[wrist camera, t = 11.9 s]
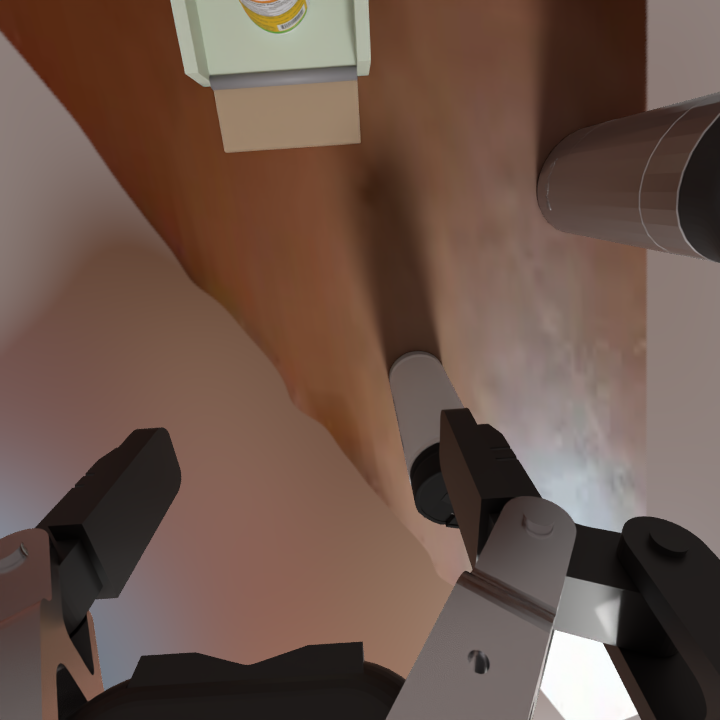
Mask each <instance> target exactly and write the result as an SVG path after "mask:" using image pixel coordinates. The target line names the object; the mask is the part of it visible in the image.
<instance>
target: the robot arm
mask: <svg viewBox="0 0 720 720" xmlns="http://www.w3.org/2000/svg"><path fill="white" fill-rule="evenodd" d="M537 197H538V203H539V207H540V209H541V212H542V214H543V216H544V217H545V219H546V220H547V221H548V222H549V223H550V224H551V225H552V226H553V227H555V228H556V229H558V230H561V231H563V232H567V233H572V234H577V235H582V236H586V237H591V238H596V239H601V240H606V241H611V242H616V243H621V244H626V245H631V246H636V247H641V248H646V249H651V250H656V251H661V252H666V253H671V254H676V255H683V256H688V257H693V258H698V259H703V260H708V261H713V262H718V263H720V92H718V93H714V94H710V95H706V96H703V97H699V98H695V99H691V100H688V101H684V102H680V103H676V104H672V105H669V106H665V107H661V108H657V109H653V110H650V111H646V112H642V113H638V114H634V115H631V116H627V117H623V118H619V119H615V120H611V121H607V122H604V123H600V124H596V125H593V126H589V127H586V128H582V129H579V130H577V131H576V132H574V133H572V134H570V135H568V136H567V137H566V138H565V139H563V140H562V141H561V142H560V143H559V144H558V145H557V146H556V147H555V148H554V149H553V151H552V152H551V153H550V155H549V156H548V158H547V160H546V161H545V163H544V165H543V168H542V170H541V173H540V176H539V181H538V189H537ZM439 457H440V467H441V472H442V476H443V479H444V482H445V485H446V488H447V491H448V494H449V498H450V501H451V504H452V507H453V510H454V513H455V516H456V519H457V522H458V525H459V529H460V532H461V535H462V538H463V541H464V544H465V547H466V550H467V553H468V556H469V560H470V563H471V566H472V569H473V570H472V572H471V573H469V572H467V571H464V572H463V573H462V574H461V576H460V577H459V579H458V580H457V582H456V584H455V586H454V588H453V590H452V592H451V594H450V596H449V598H448V600H447V602H446V604H445V605H444V607H443V609H442V611H441V613H440V615H439V617H438V619H437V621H436V623H435V625H434V627H433V629H432V631H431V633H430V635H429V637H428V638H427V641H426V642H425V644H424V647H423V648H422V650H421V652H420V654H419V656H418V658H417V660H416V662H415V664H414V666H413V667H412V669H411V671H410V673H409V675H408V677H407V679H406V680H405V679H404V678H403V677H402V676H400V675H398V674H396V673H395V672H393V671H391V670H390V669H387V668H385V667H382V666H380V665H378V664H375V663H371V662H367V661H364V652H363V642H351V643H336V644H319V645H307V646H305V647H302V648H299V649H296V650H293V651H290V652H287V653H284V654H281V655H278V656H276V657H273V658H270V659H267V660H264V661H261V662H258V663H255V664H251V665H242V664H239V663H235V662H231V661H226V660H223V659H219V658H215V657H211V656H207V655H203V654H200V653H179V654H164V655H148V656H141V658H140V660H139V662H138V665H137V667H136V669H135V671H134V673H133V676H132V678H131V679H129V680H126V681H124V682H121V683H119V684H117V685H115V686H113V687H111V688H109V689H107V690H106V691H104V688H103V683H102V676H101V669H100V663H99V656H98V649H97V643H96V636H95V629H94V622H93V617H92V615H91V613H90V611H89V608H90V607H91V605H92V604H93V602H94V600H95V599H108V598H118V596H119V594H120V593H121V591H122V589H123V588H124V586H125V584H126V582H127V581H128V579H129V577H130V575H131V574H132V572H133V570H134V568H135V566H136V565H137V563H138V561H139V560H140V558H141V556H142V554H143V552H144V550H145V549H146V547H147V545H148V544H149V542H150V540H151V538H152V537H153V535H154V533H155V531H156V529H157V528H158V526H159V524H160V523H161V521H162V519H163V517H164V516H165V514H166V512H167V510H168V509H169V507H170V505H171V503H172V501H173V500H174V498H175V496H176V495H177V493H178V491H179V488H180V484H181V470H180V467H179V464H178V461H177V457H176V454H175V451H174V448H173V445H172V442H171V439H170V436H169V433H168V431H167V430H166V429H165V428H148V429H136V430H134V431H133V432H132V433H131V434H130V435H129V436H128V437H127V438H126V440H125V441H124V442H123V443H122V444H121V445H120V446H119V447H118V448H115V449H114V450H112V451H111V452H109V453H108V454H106V455H105V456H103V457H102V458H101V459H99V460H98V461H97V462H96V463H95V464H94V465H93V466H92V467H91V468H90V469H89V470H88V472H87V473H86V476H83V477H82V478H81V479H80V480H79V481H78V482H77V483H76V484H75V488H72V489H71V490H70V491H69V492H68V493H67V494H66V495H65V496H64V497H63V499H62V500H60V502H59V503H58V504H57V505H56V506H55V507H54V508H53V509H52V510H51V511H50V512H49V513H48V514H47V516H46V517H45V518H44V519H43V520H42V521H41V522H40V523H39V524H38V525H37V526H36V527H35V528H32V529H26V530H22V531H18V532H15V533H13V534H10V535H8V536H6V537H4V538H1V539H0V720H532V719H533V714H534V711H535V707H536V702H537V699H538V695H539V691H540V687H541V683H542V679H543V675H544V671H545V667H546V663H547V659H548V655H549V651H550V647H551V643H552V639H553V635H554V631H555V630H558V631H561V632H565V633H569V634H573V635H576V636H580V637H584V638H587V639H591V640H595V641H599V642H602V643H603V644H604V646H605V648H606V650H607V652H608V654H609V656H610V658H611V660H612V662H613V664H614V666H615V668H616V670H617V672H618V674H619V676H620V678H621V680H622V682H623V684H624V686H625V688H626V690H627V692H628V694H629V696H630V698H631V700H632V702H633V704H634V706H635V708H636V710H637V712H638V714H639V716H640V718H641V720H720V560H719V559H718V557H717V556H716V555H715V554H714V553H713V552H712V551H711V550H710V549H709V548H708V547H707V545H706V544H704V542H703V541H701V540H700V539H699V538H698V537H697V536H695V535H694V534H692V533H691V532H690V531H688V530H686V529H684V528H683V527H681V526H679V525H677V524H674V523H672V522H669V521H667V520H664V519H660V518H655V517H646V516H642V517H635V518H632V519H630V520H628V521H627V522H626V523H625V524H624V526H623V529H622V533H618V532H613V531H607V530H602V529H597V528H591V527H587V526H583V525H579V524H576V523H574V521H573V520H572V518H571V517H570V516H569V514H568V513H567V512H566V511H565V510H563V509H562V508H561V507H559V506H558V505H556V504H554V503H553V502H550V501H548V500H546V499H542V497H541V496H540V494H539V492H538V491H537V489H536V488H535V486H534V484H533V483H532V481H531V479H530V478H529V476H528V475H527V473H526V471H525V470H524V468H523V467H522V465H521V463H520V462H519V460H517V458H516V455H515V454H514V452H513V451H512V449H510V446H509V444H508V443H507V441H506V439H505V438H504V436H503V434H501V433H500V432H499V431H497V430H496V429H495V428H493V427H492V426H490V425H489V424H479V425H477V423H476V421H475V419H474V418H473V416H472V414H471V412H470V410H469V409H468V408H458V409H443V410H441V414H440V448H439Z"/></svg>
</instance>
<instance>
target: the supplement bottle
mask: <svg viewBox="0 0 720 720" xmlns="http://www.w3.org/2000/svg"><path fill="white" fill-rule="evenodd" d="M239 2H240V3H241V5H242V7H243V9H244V10H245V12H246V13H247V15H248V16H249V18H250V19H251V20H252V22H253V23H254V24H255V25H256V26H257V27H259V28H260V29H261V30H263V31H265V32H267V33H270V34H273V35H284V34H287V33H290V32H292V31H294V30H295V29H296V28H298V27H299V25H300V24H301V23H302V22H303V20H304V19H305V17H306V15H307V12H308V9H309V5H310V0H239Z"/></svg>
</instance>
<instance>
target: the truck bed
mask: <svg viewBox="0 0 720 720" xmlns="http://www.w3.org/2000/svg"><path fill="white" fill-rule="evenodd" d="M170 1H171V6H172V11H173V16H174V21H175V26H176V31H177V35H178V40H179V45H180V50H181V55H182V60H183V65H184V70H185V74H186V75H188V76H189V77H191V78H192V79H193V80H195V81H196V82H198V83H199V84H201V85H202V86H203V87H208V86H211V88H212V90H214V95H215V101H216V106H217V112H218V117H219V123H220V128H221V134H222V139H223V145H224V150H225V152H227V153H229V152H244V151H258V150H272V149H287V148H301V147H315V146H330V145H344V144H358V143H361V140H360V122H359V103H358V85H357V76H364V75H369V69H370V63H371V53H370V29H369V6H368V0H310V5H309V9H308V12H307V15H306V17H305V19H304V20H303V22H302V23H301V24H300V25H299V27H298V28H296V29H295V30H294V31H292V32H290V33H287V34H284V35H273V34H270V33H267V32H265V31H263V30H261V29H260V28H259V27H257V26H256V25H255V24H254V23H253V22H252V20H251V19H250V18H249V16H248V15H247V13H246V12H245V10H244V9H243V7H242V5H241V3H240V2H239V0H170Z"/></svg>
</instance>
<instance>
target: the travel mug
mask: <svg viewBox="0 0 720 720" xmlns="http://www.w3.org/2000/svg"><path fill="white" fill-rule="evenodd" d="M389 382H390V387H391V392H392V397H393V402H394V406H395V411H396V416H397V421H398V426H399V431H400V436H401V441H402V446H403V450H404V455H405V460H406V465H407V470H408V475H409V480H410V484H411V486H412V490H413V495H414V500H415V505H416V508H417V510H418V512H419V513H420V514H421V515H423V516H424V517H425V518H427V519H429V520H431V521H432V522H435V523H438V524H446V527H451V528H459V525H458V522H457V519H456V516H455V513H454V510H453V507H452V504H451V501H450V498H449V494H448V491H447V488H446V485H445V482H444V479H443V476H442V472H441V467H440V457H439V448H440V414H441V410H443V409H458V408H464V406H463V405H462V403H461V401H460V399H459V397H458V395H457V393H456V391H455V389H454V387H453V385H452V384H451V382H450V380H449V378H448V376H447V374H446V372H445V370H444V368H443V366H442V364H441V363H440V361H439V360H438V359H437V358H436V357H435V356H433V355H432V354H430V353H427V352H423V351H413V352H409V353H406V354H404V355H402V356H401V357H399V358H398V359H397V360H396V361H395V362H394V364H393V365H392V367H391V369H390V373H389Z"/></svg>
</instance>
